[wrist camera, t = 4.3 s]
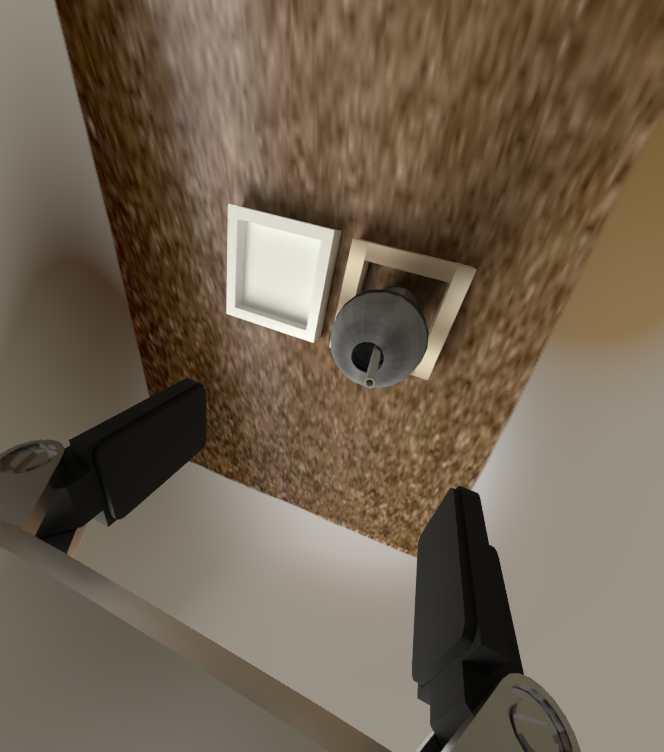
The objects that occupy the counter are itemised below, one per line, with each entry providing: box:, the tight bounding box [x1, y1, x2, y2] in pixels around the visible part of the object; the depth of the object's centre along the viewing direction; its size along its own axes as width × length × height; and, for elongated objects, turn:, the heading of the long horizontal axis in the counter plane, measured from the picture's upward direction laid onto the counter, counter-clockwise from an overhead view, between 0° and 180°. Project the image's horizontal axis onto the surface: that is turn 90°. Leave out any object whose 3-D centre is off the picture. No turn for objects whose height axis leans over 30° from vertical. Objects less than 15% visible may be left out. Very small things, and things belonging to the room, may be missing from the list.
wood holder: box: [329, 238, 477, 380], centre depth 29 cm, size 12×12×3 cm
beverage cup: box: [330, 287, 429, 388], centre depth 22 cm, size 7×7×20 cm
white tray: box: [227, 204, 342, 343], centre depth 32 cm, size 12×12×2 cm
